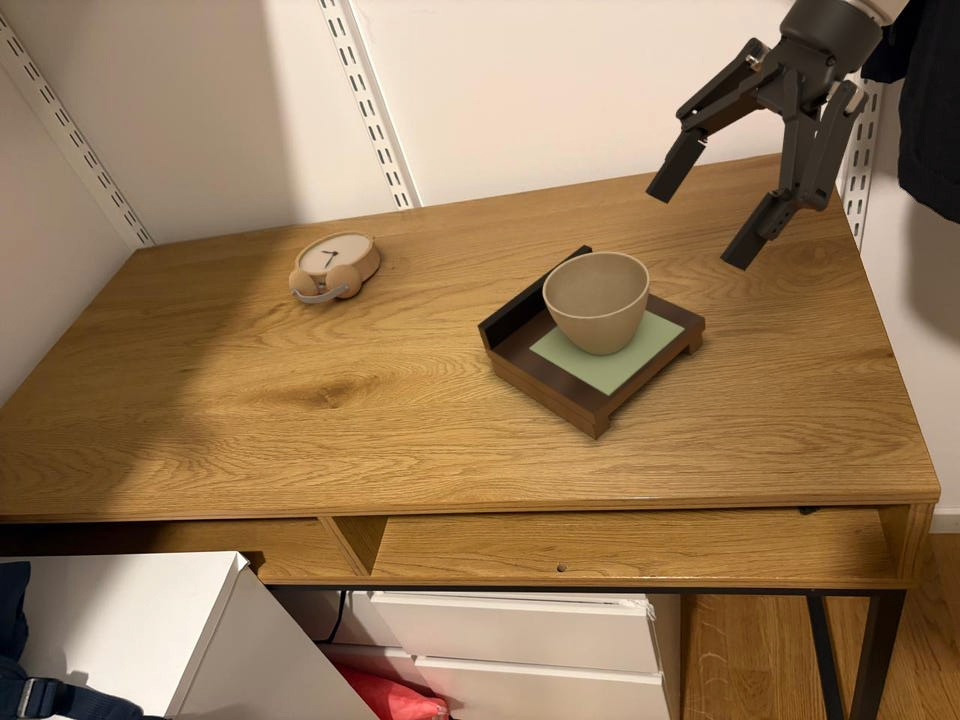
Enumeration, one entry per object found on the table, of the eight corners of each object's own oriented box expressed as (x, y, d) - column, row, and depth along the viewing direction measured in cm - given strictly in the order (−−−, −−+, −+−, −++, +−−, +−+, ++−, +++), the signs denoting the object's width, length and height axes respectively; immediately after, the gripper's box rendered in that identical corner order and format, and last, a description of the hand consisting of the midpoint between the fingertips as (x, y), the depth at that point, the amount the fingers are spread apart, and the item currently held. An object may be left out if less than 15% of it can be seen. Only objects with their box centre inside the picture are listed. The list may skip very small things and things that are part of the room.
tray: (707, 346, 76) (703, 294, 71) (600, 442, 70) (589, 392, 66) (593, 293, 87) (584, 244, 82) (492, 372, 81) (476, 325, 77)
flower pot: (631, 383, 69) (622, 326, 64) (538, 361, 74) (524, 307, 70) (671, 314, 74) (665, 257, 70) (582, 298, 80) (571, 244, 75)
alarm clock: (384, 225, 104) (345, 276, 92) (393, 257, 106) (357, 310, 95) (313, 233, 107) (266, 283, 95) (324, 264, 110) (280, 316, 98)
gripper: (994, 73, 53) (799, 311, 62) (781, -4, 72) (655, 187, 81) (941, 24, 49) (741, 285, 58) (731, -44, 68) (604, 162, 77)
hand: (691, 229), depth 69 cm, fingers open, 13 cm apart
